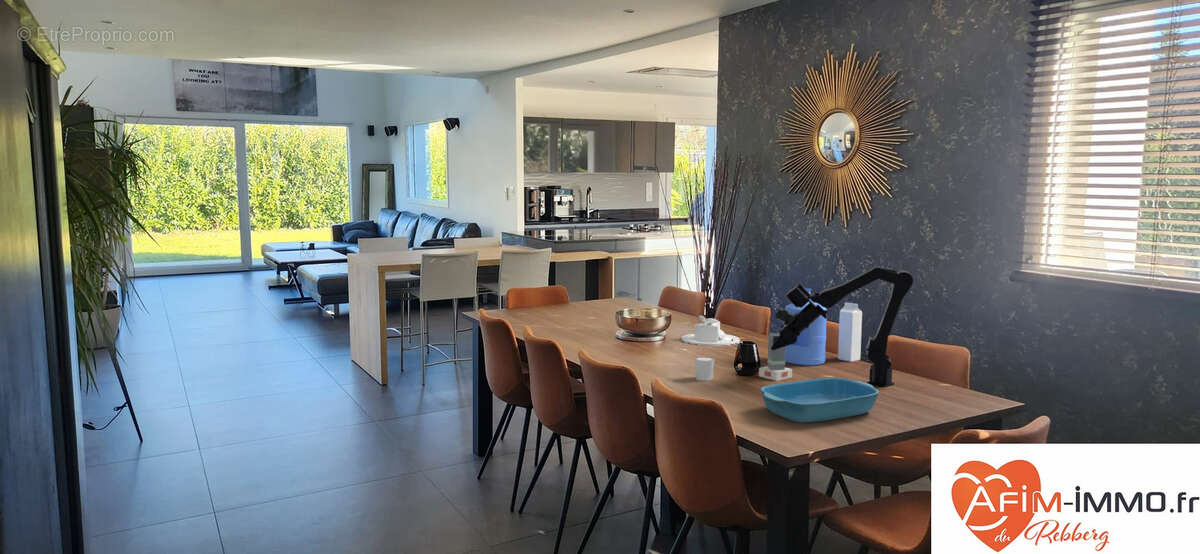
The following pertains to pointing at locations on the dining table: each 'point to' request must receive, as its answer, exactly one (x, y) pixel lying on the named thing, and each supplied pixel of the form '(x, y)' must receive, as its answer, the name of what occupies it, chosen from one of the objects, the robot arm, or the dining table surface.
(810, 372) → the dining table surface
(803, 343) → the water jug
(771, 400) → the casserole dish
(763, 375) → the white flat box
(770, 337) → the column
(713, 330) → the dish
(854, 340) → the milk
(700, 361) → the white cylinder
